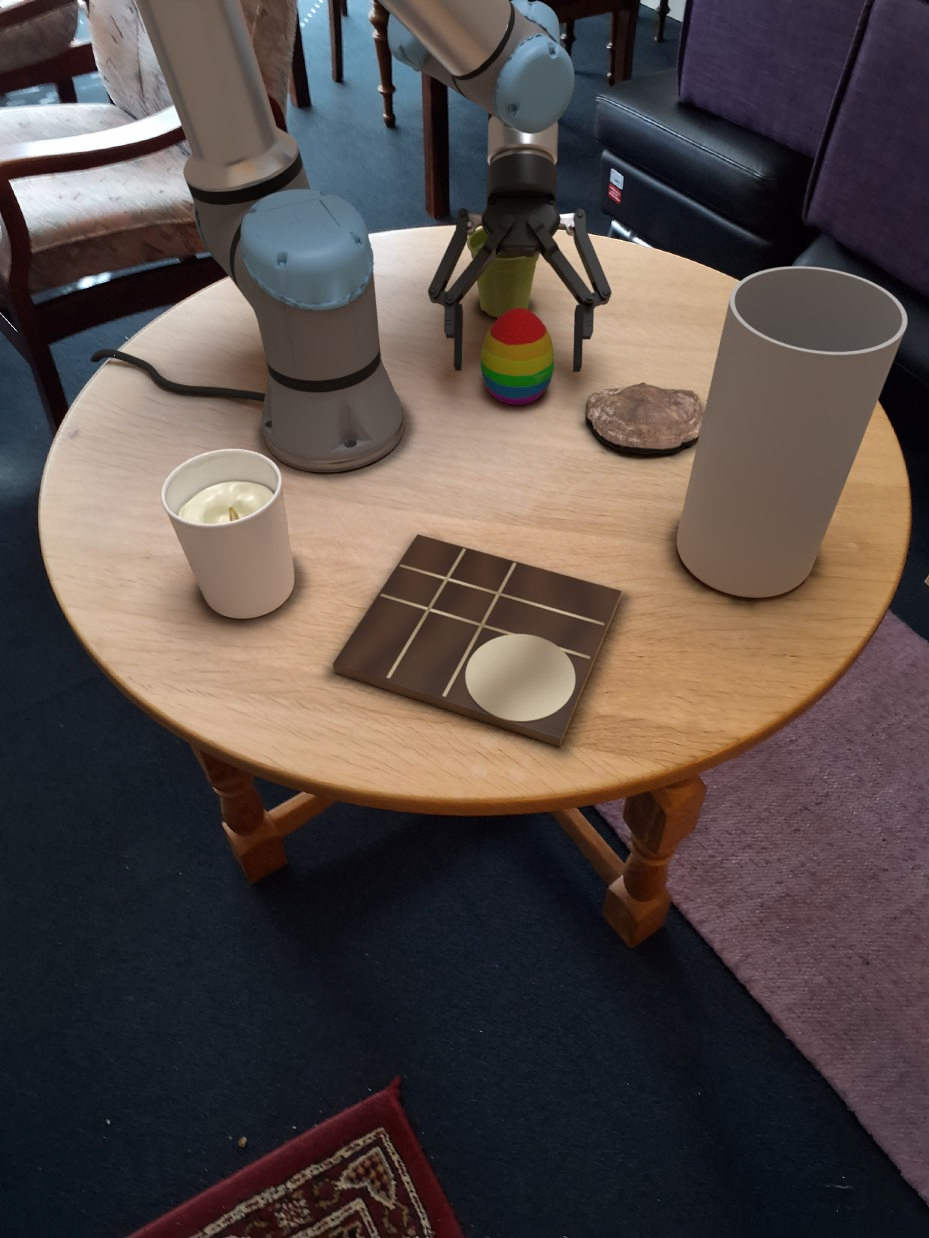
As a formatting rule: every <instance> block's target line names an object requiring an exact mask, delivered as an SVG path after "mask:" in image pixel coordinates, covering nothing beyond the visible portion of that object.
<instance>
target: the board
mask: <svg viewBox="0 0 929 1238" xmlns="http://www.w3.org/2000/svg"><path fill="white" fill-rule="evenodd" d="M621 596H622V590H620V589H617V588H613V587H609V586H606V585H603V584H602V585H601V584H598V583H595V582H592V581H588V580H584V579H581V578H577V577H574V576H570V575H566V574H562V573H559V572H555V571H551V570H548V569H544V568H541V567H537V566H535V565H530V564H526V563H523V562H519V561H515V560H512V559H508V558H505V557H501V556H498V555H494V554H490V553H487V552H483V551H479V550H476V549H472V548H469V547H465V546H461V545H458V544H455V543H451V542H447V541H445V540H440V539H436V538H433V537H431V536H430V537H429V536H426V535H423V534H416V536H415V537H414V539H413V540H412V542H411V543H410V545H409V546H408V548H407V550H406V551H405V553H404V554H403V556H401V559H400V560H399V562H398V563H397V564H396V566H395V568H394V569H393V571H392V572H391V574H390V576H389V577H388V578H387V580H386V582H385V583H384V584H383V586H382V588H381V589H380V590H379V592H378V594H377V595H376V597H375V598H374V600H373V601H372V603H371V605H370V606H369V607H368V609H367V611H366V612H365V613H364V616H363V617H362V618H361V620H360V621H359V623H358V624H357V626H356V627H355V629H354V630H353V632H352V633H351V634H350V637H349V638H348V640H347V641H346V643H345V644H344V645H343V647H342V649H341V650H340V651H339V653H338V655H337V656H336V658H335V660H334V661H333V663H332V666H333V671H334V673H336V674H337V675H342V676H344V677H347V678H350V679H354V680H357V681H359V682H362V683H366V684H369V685H371V686H374V687H377V688H381V689H384V690H387V691H389V692H393V693H396V694H398V695H401V696H405V697H407V698H410V699H414V700H417V701H420V702H423V703H426V704H429V705H432V706H435V707H438V708H440V709H444V710H447V711H450V712H453V713H456V714H458V715H462V716H464V717H468V718H471V719H474V720H477V721H480V722H483V723H486V724H488V725H492V726H495V727H497V728H500V729H504V730H507V731H510V732H513V733H516V734H518V735H522V736H524V737H528V738H531V739H534V740H537V741H540V742H543V743H546V744H549V745H552V746H555V747H558V748H560V747H561V746H562V744H563V743H562V742H563V740H564V738H565V735H566V733H567V731H568V728H569V726H570V724H571V721H572V719H573V716H574V714H575V712H576V709H577V706H578V703H579V702H580V699H581V696H582V694H583V692H584V689H585V687H586V684H587V682H588V680H589V678H590V674H591V672H592V669H593V668H594V666H595V665H594V664H595V662H596V660H597V657H598V655H599V652H600V650H601V648H602V645H603V642H604V640H605V638H606V636H607V633H608V630H609V628H610V626H611V623H612V621H613V618H614V616H615V613H616V611H617V609H618V606H619V604H620V601H621Z"/></svg>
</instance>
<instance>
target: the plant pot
mask: <svg viewBox="0 0 929 1238" xmlns="http://www.w3.org/2000/svg"><path fill="white" fill-rule="evenodd" d="M488 238H489V237H488V235H487V234H486V232H485V231H484V229H483V227H480V228H477V229H476V230H475V233H474V234H473V235H470V236H469V235H468V238H467V242H466V246H467V249H468V250H469V252H470V257H471V259H472V260H473V259H474V257H475V256H476V255H477V254H478V252H479V251H480V250H481V248H482V247H483V245H484V243H485V242H486V240H487V239H488ZM540 255H541V254H540V253H539V254H538V255H535V256H534V257H524V256H521V255H519V256H515V257H506V255H503V254H501V253H499V255H498V256H497V257H496V259H495V260H494V261H493V262H492V263H490V265H489V266H488V267H487V268H486V270H485V271H484V272H483V273H482V275H481V276H480V277H479V278H478V280H477V281H476V285H477V292H478V298H479V306H480V309H481V311H482V312H486V314H487V315H488V316H490V317H492V318H496V319H498V318H499V317H500V316H501V315H502V314H503V313H505V312H507V311H508V310H511V309H514V308H523V309H527V310H529V309H528V308H529V305H530V304H529V303H530V298H531V293H532V287H533V281H534V278H535V273H536V268H537V267H536V266H537V262H538V260H539V258H540Z"/></svg>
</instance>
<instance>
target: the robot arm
mask: <svg viewBox="0 0 929 1238" xmlns="http://www.w3.org/2000/svg"><path fill="white" fill-rule="evenodd" d="M134 1H135V5H136V7H137V9H138V12H139V15H140V18H141V21H142V23H143V25H144V28H145V30H146V33H147V36H148V39H149V43H150V44H151V47H152V50H153V52H154V55H155V58H156V61H157V62H158V66H159V69H160V71H161V74H162V76H163V79H164V82H165V85H166V88H167V90H168V93H169V95H170V98H171V101H172V105H173V107H174V109H175V113H176V115H177V116H178V120H179V122H180V125H181V127H182V130H183V133H184V136H185V138H186V141H187V144H188V146H189V149H190V153H189V155H188V157H187V160H186V162H185V163H184V166H183V171H182V174H183V178H184V180H185V183H186V185H187V188H188V190H189V194H190V196H191V198H192V201H193V214H194V221H195V224H196V228H197V232H198V234H199V237H200V239H201V241H202V243H203V245H204V247H205V249H206V251H207V252H208V253H209V255H210V256H211V257H212V258H213V259H214V261H215V262H217V264H218V265H219V266H221V267H222V269H223V270H224V272H226V274H227V276H228V277H229V278H230V280H231V281H232V282H233V284H234V285H235V286H236V288H237V289H238V290H239V292H240V293H241V294H242V296H243V298H244V299H245V300H246V301H247V303H248V304H249V306H250V307H251V308H252V310H253V312H254V314H255V318H256V321H257V324H258V330H259V335H260V339H261V343H262V348H263V353H264V357H265V363H266V367H267V372H268V374H267V375H268V376H267V382H266V388H265V392H259V391H253V390H245V389H237V388H229V387H222V386H221V387H219V386H206V385H190V384H182V383H178V382H174V381H171V380H169V379H168V378H165V377H164V376H163V375H162V374H161V373H159V371H158V370H157V369H156V368H155V367H154V366H153V365H152V364H151V363H150V362H148V361H147V360H144V359H142V358H139V357H137V356H134V355H132V354H130V353H127V352H123V351H121V350H116V349H112V348H111V349H110V348H104V349H103V348H102V349H99V350H96V351H95V352H94V353H93V355H92V356H91V358H90V362H91V363H98V362H101V360H103V359H107V358H109V359H114V360H115V359H116V360H119V361H122V362H125V363H127V364H130V365H133V366H134V367H137V368H139V369H142V370H144V371H145V372H146V373H147V374H148V375H149V376H150V377H151V379H152V380H153V381H155V383H157V384H158V385H159V386H160V387H162V388H164V389H166V390H169V391H172V392H176V393H180V394H186V395H197V396H199V395H201V396H215V397H224V398H233V399H240V400H249V401H256V402H262V403H263V406H262V407H263V408H262V414H261V429H262V433H263V439H264V442H265V445H266V447H267V449H268V450H269V452H270V453H271V454H272V455H273V456H274V457H275V458H276V459H277V460H279V461H280V462H282V463H283V464H286V465H287V466H290V467H293V468H294V469H299V470H302V471H307V472H314V473H338V472H339V473H340V472H344V471H346V472H347V471H351V470H355V469H359V468H362V467H365V466H368V465H370V464H372V463H375V462H377V461H378V460H380V459H381V458H383V457H386V455H387V454H389V453H390V452H391V451H392V450H393V449H395V447H396V446H397V445H398V444H399V443H400V441H401V440H402V437H403V435H404V432H405V431H404V430H405V417H404V416H405V415H404V409H403V405H402V402H401V399H400V397H399V395H398V393H397V392H396V390H395V388H394V385H393V383H392V381H391V378H390V376H389V374H388V371H387V369H386V368H385V366H384V365H385V364H384V363H383V360H382V351H381V342H380V330H379V329H380V328H379V320H378V318H379V317H378V309H377V308H378V307H377V297H376V296H377V295H376V286H375V284H376V283H375V273H374V266H375V262H374V259H375V258H374V250H373V248H372V243H371V241H370V237H369V231H368V227H367V224H366V221H365V220H364V218H363V216H362V215H361V213H360V212H359V211H358V210H357V208H356V207H355V206H354V205H352V204H351V203H350V202H348V201H347V200H346V199H343V198H342V197H340V196H338V195H335V194H332V193H329V194H325V195H324V194H323V192H322V191H321V190H317V189H311V187H310V183H309V179H308V175H307V171H306V168H305V165H304V162H303V157H302V154H301V151H300V148H299V144H298V141H297V140H296V138H295V137H293V135H290V134H289V133H288V132H286V131H284V130H282V129H281V128H279V127H278V126H277V124H276V120H275V116H274V112H273V110H272V106H271V104H270V103H271V102H270V99H269V96H268V93H267V89H266V86H265V83H264V79H263V76H262V72H261V68H260V66H259V62H258V58H257V55H256V52H255V48H254V44H253V41H252V38H251V34H250V30H249V28H248V25H247V20H246V18H245V14H244V11H243V7H242V4H241V0H134ZM377 2H379V3H380V5H382V7H384V8H385V10H387V12H388V13H389V17H388V22H387V43H388V47H389V51H390V53H391V55H392V57H393V58H394V59H395V60H397V61H398V62H400V63H402V64H403V65H405V66H408V67H410V68H411V69H412V70H413V71H414V72H416V73H419V72H421V73H423V74H424V75H427V76H429V77H432V78H433V79H436V80H437V81H439V82H440V83H442V84H443V85H445V86H446V87H448V88H449V89H451V90H453V91H454V92H456V93H457V94H458V95H460V96H462V97H463V98H465V99H466V100H469V101H470V102H472V103H474V104H475V105H477V106H479V107H480V108H481V109H482V110H484V111H486V112H487V163H488V167H487V168H486V169H487V170H486V203H485V204H486V205H485V209H484V210H483V212H482V213H477V212H476V213H474V212H469V211H468V209H466V208H464V207H461V208H459V209H458V210H457V213H456V221H455V230H454V231H453V234H452V236H451V238H450V241H449V243H448V245H447V247H446V250H445V252H444V254H443V256H442V258H441V261H440V263H439V265H438V266H437V269H436V271H435V273H434V276H433V278H432V280H431V282H430V285H429V287H428V289H427V295H428V297H429V301H430V302H431V303H432V304H436V305H440V306H442V307H443V309H444V316H443V317H444V319H443V330H444V335H445V338H446V339H453V341H454V342H453V368H454V371H455V372H462V371H463V340H464V339H463V337H464V336H463V332H464V331H463V330H464V309H463V303H461V302H462V300H463V299H464V298H465V297H466V295H467V294H468V292H469V291H470V290H471V289H472V288H473V286H474V285H475V284H476V283H477V280H478V278H479V277H480V276H481V275H482V273H483V272H484V271H485V270H486V268H487V267H488V266H489V265H490V263H492V262H493V261H494V260H495V259H496V257H497V256H498V255H499V253H501V254H503V255H506V257H515V256H519V255H521V256H524V257H534V256H535V255H538V254H539V253H540V255H541V257H542V259H544V261H545V262H546V263H547V264H549V266H550V267H551V268H552V269H553V271H554V273H555V274H556V275H557V277H558V278H559V279H560V280H561V282H562V283H563V284H564V286H565V287H566V289H567V290H568V292H569V293H570V295H572V297H573V299H574V300H575V301H576V303H577V304H576V305H575V309H574V314H573V316H574V319H573V322H574V323H573V350H572V351H573V352H572V353H573V355H572V356H573V357H572V373H581V371H582V370H581V369H582V367H583V341H584V340H585V341H586V340H591V339H592V336H593V333H594V319H595V318H594V317H595V309H596V308H598V307H599V306H605V305H607V304H608V303H609V301H610V299H611V296H612V293H613V292H612V289H611V286H610V284H609V282H608V279H607V277H606V274H605V272H604V269H603V267H602V265H601V262H600V260H599V257H598V254H597V252H596V249H595V247H594V245H593V243H592V240H591V238H590V235H589V233H588V231H587V215H586V214H587V213H586V211H585V210H584V209H583V208H577V209H576V210H575V211H574V212H571V213H560V212H559V210H558V206H557V193H558V190H557V188H558V187H557V186H558V168H557V166H556V164H557V162H558V153H559V152H558V151H559V149H558V147H559V146H558V145H559V120H560V118H561V117H562V116H563V115H564V112H565V111H566V110H567V109H568V106H569V105H570V102H571V100H572V96H573V94H574V89H575V69H574V64H573V61H572V59H571V57H570V55H569V53H568V52H567V50H566V49H565V48H564V47H563V46H561V37H560V36H561V34H560V33H561V31H560V22H559V19H558V15H556V12H555V11H554V10H553V9H552V8H551V7H550V6H548V4H545V3H544V2H542V1H539V0H535V1H529V0H377ZM479 227H480V228H483V229H484V231H485V232H486V234H487V235H488V237H489V238H488V239H487V240H486V242H485V243H484V245H483V247H482V248H481V250H480V251H479V252H478V254H477V255H476V256H475V257H474V259H472V260H471V261H470V262H469V264H468V265H467V266H466V268H465V269H463V271H462V272H461V274H460V275H459V276H458V278H457V279H456V280H455V281H454V283H453V284H452V285H451V287H450V288H449V289H448V291H446V288H447V286H448V284H449V282H450V280H451V278H452V275H453V274H454V271H455V269H456V266H457V264H458V262H459V261H460V258H461V256H462V254H463V251H464V249H465V247H466V246H467V238H468V236H470V235H473V234H474V233H475V231H476V230H478V229H479ZM560 228H563V229H564V230H565V233H566V234H567V236H568V237H573V243H574V246H575V248H576V251H577V253H578V256H579V258H580V261H581V263H582V266H583V268H584V271H585V274H586V275H587V278H588V280H589V283H590V285H591V288H592V290H593V292H592V291H591V290H590V289H589V287H588V286H587V284H586V283H585V281H584V280H583V279H582V278H581V276H580V274H579V273H578V271H576V269H575V268H574V267H573V265H572V264H571V263H570V261H569V260H568V258H567V257H566V256H565V255H564V253H563V252H562V251H561V248H560V247H559V245H558V243H557V241H556V240H555V239H554V238H553V237H554V236H555V234H556V233H557V232H558V230H559V229H560ZM114 355H115V356H114Z"/></svg>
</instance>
